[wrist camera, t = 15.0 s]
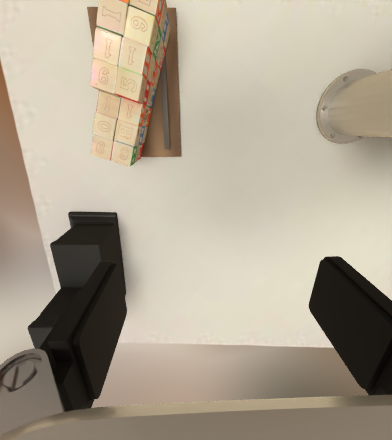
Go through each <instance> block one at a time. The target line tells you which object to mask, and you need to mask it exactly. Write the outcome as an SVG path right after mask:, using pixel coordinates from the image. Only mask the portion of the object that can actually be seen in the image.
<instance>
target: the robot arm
mask: <svg viewBox="0 0 392 440" xmlns="http://www.w3.org/2000/svg"><path fill="white" fill-rule="evenodd" d="M322 108H323V110H322ZM317 122H318V126H319V129H320V131H321V133H322V134H323V135H324V137H325V138H327V139H328V140H330V141H332V142H335V143H351V142H354V141H357V140H359V139H361V138H363V137H364V136H370V137H389V138H392V69H391V70H387V71H384V72H380V73H377V74H376V73H375V72H373V71H370V70H366V69H358V70H353V71H350V72H348V73H345V74H343V75H341V76H340V77H338V78H337V79H336V80H335V81H333V82H332V83H331V84H330V85H329V87H328V88H327V89H326V91H325V92H324V94H323V96H322V98H321V100H320V103H319V106H318V110H317ZM330 135H331V136H330ZM309 309H310V312H311V313H312V315H313V316H314V318H315V319H316V321H317V322H318V324H319V325H320V327H321V328H322V330H323V331H324V333H325V334H326V336H327V337H328V339H329V340H330V342H331V343H332V345H333V346H334V348H335V350H336V351H337V352H338V354H339V355H340V357H341V358H342V360H343V361H344V363H345V365H346V366H347V367H348V369H349V371H350V372H351V374H352V375H353V377H354V378H355V380H356V381H357V383H358V384H359V385H360V386H361V387H362V388H363V389H365V390H366V391H367V393H368V394H369V395H368V396H337V397H309V398H281V399H255V400H231V401H207V402H185V403H162V404H142V405H127V406H111V407H97V408H91V407H92V404H93V401H94V399H98V398H99V396H100V393H101V391H102V388H103V385H104V382H105V379H106V376H107V372H108V369H109V366H110V364H111V360H112V357H113V354H114V351H115V348H116V345H117V342H118V339H119V336H120V333H121V330H122V327H123V324H124V321H125V318H126V314H127V308H126V302H125V296H124V290H123V284H122V278H121V272H120V266H119V264H115V261H100V262H99V264H98V265H97V267H96V268H95V270H94V271H93V273H92V275H91V276H90V278H89V279H88V281H87V282H86V284H85V285H84V287H83V288H82V290H81V291H79V292H77V293H76V295H75V296H74V297H73V299H72V300H71V302H70V303H69V305H68V306H67V308H66V309H65V311H64V312H63V314H62V315H61V317H60V318H59V320H58V321H57V323H56V324H55V325H54V327H53V328H52V330H51V331H50V333H49V334H48V336H47V337H46V339H45V340H44V342H43V343H42V345H41V346H40V348H39V349H29V350H25V351H22V352H20V353H17V354H15V355H14V356H12V357H10V358H9V359H7V360H6V361H5V362H4V363H2V364H1V365H0V440H392V301H391V300H390V299H389V298H388V297H387V296H386V295H384V294H383V293H382V292H381V291H380V290H379V289H377V288H376V287H375V286H374V285H373V284H372V283H370V282H369V281H368V280H367V279H366V278H365V277H363V276H362V275H361V274H360V273H359V272H357V271H356V270H355V269H354V268H353V267H352V266H350V265H349V264H348V263H347V262H346V261H345V260H343V259H342V258H341V257H338V256H336V257H325V258H324V259H323V260H321V261H320V264H319V268H318V272H317V275H316V279H315V283H314V287H313V290H312V294H311V298H310V302H309Z"/></svg>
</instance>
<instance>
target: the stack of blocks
mask: <svg viewBox="0 0 392 440" xmlns="http://www.w3.org/2000/svg"><path fill="white" fill-rule="evenodd" d="M96 24H97V28H96V29H95V38H94V48H93V61H92V72H91V82H90V86H92V87H94V88H96V89H98V90H99V94H98V102H97V109H96V113H95V119H94V126H93V140H92V147H91V155H94V156H97V157H100V158H104V159H107V160H111V161H114V162H117V163H121V164H124V165H127V166H131V165H133V164H134V163H135V162H136V161H138V160H139V159H140V158H141V154H142V149H143V145H144V142H145V138H146V134H147V129H148V125H149V121H150V116H151V112H152V106H153V101H154V97H155V93H156V88H157V83H158V79H159V75H160V71H161V68H162V64H163V60H164V55H165V51H166V47H167V43H168V39H169V34H170V30H171V28H170V23H169V19H168V13H167V4H166V0H99V2H98V12H97V23H96Z"/></svg>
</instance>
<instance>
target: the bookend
mask: <svg viewBox="0 0 392 440" xmlns="http://www.w3.org/2000/svg"><path fill="white" fill-rule="evenodd" d="M68 215H69V220H70V225H71V229H70V230H69V231H67V232H66V233H65V234H64V235H62V236H61V237H60V238H59V239H58V240H56V241H54V242H52V243H51V244H50V247H51V251H52V254H53V258H54V262H55V266H56V270H57V274H58V278H59V282H60V286H61V289H60V290H59V291H58V293H57V294H56V295H55V296H54V298H53V299H52V300H51V301H50V303H49V304H48V305H47V306H46V308H45V309H44V310H43V311H42V313H41V314H40V316H39V317H38V318H37V319H36V320H35V321H33V322H32V323H31V324H30V325H29V326H28V331H29V334H30V336H31V339H32V342H33V345H34V347H35V349H39V348H40V346H41V345H42V343H43V342H44V340H45V339H46V337H47V336H48V334H49V333H50V331H51V330H52V328H53V327H54V325H55V324H56V323H57V321H58V320H59V318H60V317H61V315H62V314H63V312H64V311H65V309H66V308H67V306H68V305H69V303H70V302H71V300H72V299H73V297H74V296H75V295H76V293H77V292H79V291H81V290H82V288H83V287H84V285H85V284H86V282H87V281H88V279H89V278H90V276H91V275H92V273H93V271H94V270H95V268H96V267H97V265H98V264H99V262H100V261H115V264H119V266H120V272H121V278H122V284H123V290H124V296H125V295H126V290H125V281H124V272H123V263H122V254H121V253H122V251H121V246H120V236H119V228H118V220H117V213H106V212H69V213H68Z"/></svg>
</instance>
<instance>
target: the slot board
mask: <svg viewBox="0 0 392 440" xmlns="http://www.w3.org/2000/svg"><path fill="white" fill-rule="evenodd" d="M87 9H88V16H89V22H90V29H91V35H92V41H93V48H94V38H95V29H96V28H97V24H96V23H97V12H98V7H87ZM167 13H168V19H169V23H170V28H171V30H170V34H169V39H168V43H167V47H166V51H165V55H164V60H163V64H162V68H161V71H160V75H159V79H158V83H157V88H156V93H155V97H154V101H153V106H152V112H151V116H150V121H149V125H148V129H147V134H146V138H145V142H144V145H143V149H142V154H141V157H176V156H181V146H180V116H179V85H178V55H177V24H176V8H167Z"/></svg>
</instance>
